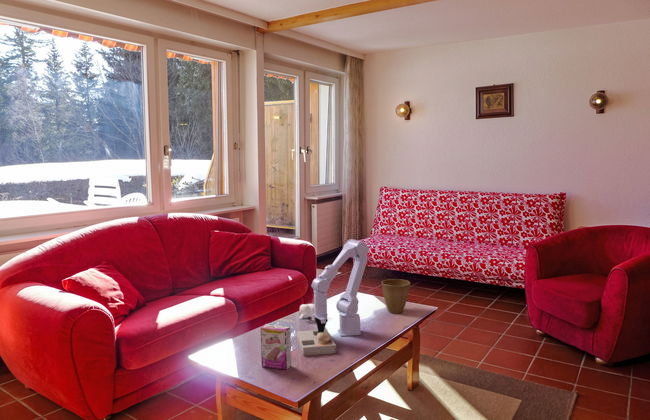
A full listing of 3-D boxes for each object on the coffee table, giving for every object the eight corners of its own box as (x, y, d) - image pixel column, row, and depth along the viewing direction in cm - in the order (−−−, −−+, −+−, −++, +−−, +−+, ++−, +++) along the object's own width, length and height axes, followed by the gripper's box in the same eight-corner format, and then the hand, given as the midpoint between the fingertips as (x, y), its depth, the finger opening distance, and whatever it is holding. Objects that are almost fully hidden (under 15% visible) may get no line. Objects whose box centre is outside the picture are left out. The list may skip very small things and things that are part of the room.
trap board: (325, 333, 240) (325, 326, 239) (336, 352, 216) (336, 345, 216) (296, 335, 237) (296, 328, 237) (303, 355, 214) (303, 347, 213)
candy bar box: (261, 367, 203) (259, 327, 201) (266, 362, 208) (265, 323, 206) (287, 370, 200) (285, 330, 198) (291, 365, 204) (290, 326, 202)
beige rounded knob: (329, 339, 226) (329, 331, 226) (330, 344, 221) (330, 336, 221) (317, 339, 226) (317, 332, 226) (317, 344, 221) (317, 336, 220)
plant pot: (412, 315, 262) (412, 285, 260) (383, 316, 262) (383, 286, 260) (407, 307, 277) (407, 278, 275) (380, 307, 277) (380, 278, 275)
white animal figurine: (307, 319, 268) (293, 317, 255) (309, 303, 270) (296, 300, 257) (321, 322, 264) (308, 319, 251) (323, 305, 266) (311, 302, 253)
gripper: (309, 300, 236) (309, 328, 238) (314, 310, 222) (315, 340, 224) (324, 299, 237) (324, 327, 239) (330, 308, 223) (330, 338, 225)
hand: (321, 333), depth 231 cm, fingers closed
